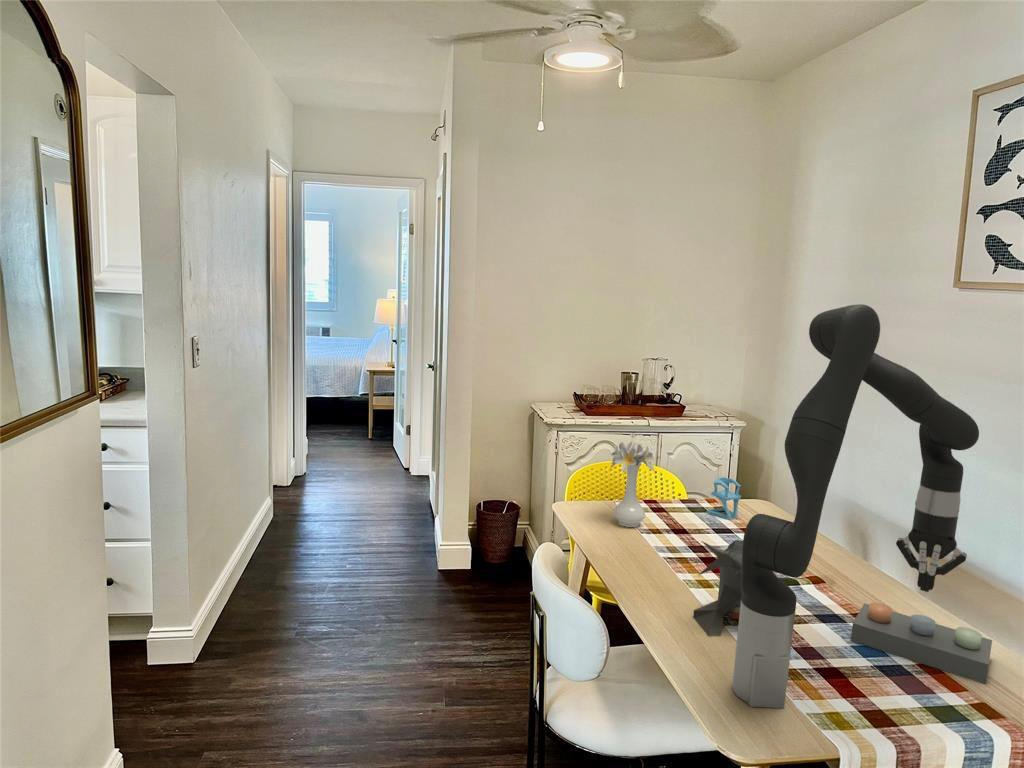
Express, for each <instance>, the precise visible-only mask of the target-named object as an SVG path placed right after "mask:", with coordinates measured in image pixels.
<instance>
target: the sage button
mask: <svg viewBox="0 0 1024 768" xmlns="http://www.w3.org/2000/svg"><path fill="white" fill-rule="evenodd" d="M955 629H956V632H955V638H954V641H955V643H956V644H958V645H960V646H962V647H964V648H968V649H974V650H976V649H979V648H980V644H981V638H982V637H983V636H982V635H983V634H981V633H980V632H978V630H975V629H973V628H969V627H965V626H960V627H959V626H958V627H956V628H955Z"/></svg>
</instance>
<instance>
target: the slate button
mask: <svg viewBox="0 0 1024 768" xmlns="http://www.w3.org/2000/svg"><path fill="white" fill-rule="evenodd" d="M910 617H911V621H910V629H911V630H912V631H913V632H915V633H917V634H920V635H924V636H932V635H934V629H935V624H936V621H935V620H934V619H933V618H931V617H929V616H926V615H922V614H913V615H911V616H910Z"/></svg>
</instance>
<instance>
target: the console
mask: <svg viewBox="0 0 1024 768" xmlns="http://www.w3.org/2000/svg"><path fill="white" fill-rule="evenodd" d="M869 604H870V603H869ZM869 604H868V603H863V604H862V607H861V608H860V610H859V612H858V614H857V615H856V616H855V619H854V620H853V621H852V624H851V625H852V627H851V633H850V641H851V642H854V643H857V644H860V645H862V646H866V647H869V648H873V649H876V650H879V651H882V652H884V653H888V654H892V655H894V656H897V657H901V658H904V659H907V660H910V661H913V662H915V663H916V662H917V663H920V664H923V665H925V666H929V667H932V668H936V669H938V670H941V671H944V672H948V673H950V674H954V675H957V676H960V677H963V678H966V679H969V680H972V681H975V682H978V683H982V684H986V683H987V677H988V670H989V665H990V659H991V651H992V644H993V640H992V639H990V638H986V637H983V636H982V638H981V644H980V648H979V649H976V650H974V649H968V648H964V647H962V646H960V645H958V644H956V643H955V641H954V638H955V632H956V628H951V627H948V626H944V625H940V624H939V623H938V624H937V623H935V629H934V635H932V636H924V635H920V634H917V633H915V632H913V631H912V630H911V629H910V621H911V616H909V615H906V614H903V613H899V612H896V611H893V610H892V615H891V621H890V622H889V623H880V622H876V621H874V620H872V619H870V618H869V617H868V609H869Z"/></svg>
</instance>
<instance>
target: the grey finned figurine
mask: <svg viewBox="0 0 1024 768" xmlns="http://www.w3.org/2000/svg"><path fill="white" fill-rule="evenodd" d="M701 543H702V544H703V545H704V546H706V548H707V549H708V550H709V551H711V552H712V554H714V556H716V559H715V560H714V561H712V562H711V563H710V564H709V565H708V566H706V568H704V569H702V571H701V572H700V573H698V574H697V576H700V575H702V574H705V573H707V572H710V571H713V570H716V569H718V568H719V583H718V584H719V585H718V593H717V600H714V601H712V602H709V603H708V604H705V605H703V606H700V607H697V608H696V609H694V610H693V616H692V617H693V619H694V620H695V621H696V622H697V624H698V625H699V626H700V628H701V629H702V630H703V632H704V633H705V632H706V633H705V634H706V636H708V637H721V636H722V630H723V623H724V618H729V619H735V620H739V614H740V606H741V596H742V591H741V570H742V547H743V540H741V539H740V540H739V539H736V540H733V541H732V542H731V543H730V544H729V545H728V547H727V548H725V549H724V550H721V549H719V548H717V547H714V546H713V545H710V544H709V543H707V542H705V541H703V540H701Z"/></svg>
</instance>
